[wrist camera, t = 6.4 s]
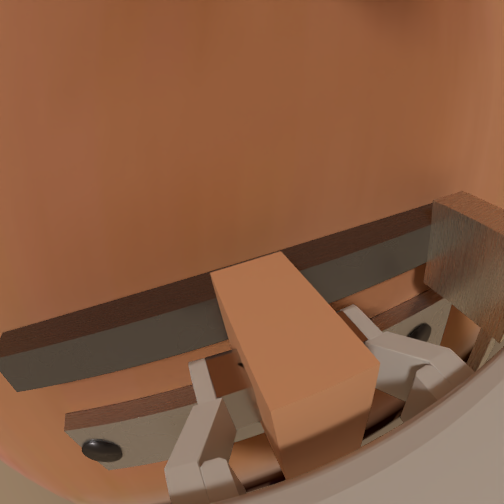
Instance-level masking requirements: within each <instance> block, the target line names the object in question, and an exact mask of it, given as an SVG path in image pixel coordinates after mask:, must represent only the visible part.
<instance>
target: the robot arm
mask: <svg viewBox="0 0 504 504" xmlns="http://www.w3.org/2000/svg"><path fill="white" fill-rule="evenodd" d="M336 313H337V314H338V315H339V316H340V317H341V318H342V320H343V321H344V322H345V323H346V324H347V325H348V326H349V328H350V329H351V330H352V331H353V332H354V333H355V334H356V335H357V337H358V338H359V339H360V340H361V341H362V342H363V343H364V345H365V346H366V347H367V348H368V349H369V350H370V351H371V353H372V354H373V355H374V356H375V357H376V358H377V359H378V361H379V362H380V368H379V373H378V378H377V382H376V387H375V388H376V389H379V390H381V391H383V392H385V393H387V394H389V395H392V396H394V397H396V398H398V399H400V400H403V401H405V402H406V403H405V406H404V408H403V411H402V414H401V417H400V418H401V420H402V421H403V422H404V423H403V424H401V425H399V426H398V427H396V428H394V429H393V430H391V431H389V432H387V433H386V434H384V435H382V436H380V437H379V438H377V439H375V440H374V441H372V442H370V443H368V444H366V445H364V446H362V447H360V448H358V449H356V450H354V451H352V452H350V453H348V454H346V455H344V456H342V457H340V458H338V459H336V460H333V461H331V462H329V463H327V464H325V465H322V466H320V467H318V468H315V469H313V470H311V471H308V472H306V473H303V474H301V475H298V476H296V477H293V478H291V479H288V480H285V481H283V482H280V483H277V484H274V485H271V486H268V487H265V488H262V489H259V490H256V491H253V492H250V493H246V491H245V488H244V487H243V485H242V484H241V482H240V481H239V479H238V478H237V476H236V475H235V473H234V471H233V470H232V468H231V467H230V465H229V464H228V463H229V459H230V455H231V452H232V448H233V444H234V440H235V436H236V433H237V430H236V429H239V428H242V427H245V426H248V425H250V424H253V423H256V422H259V421H261V420H262V417H261V414H260V410H259V407H258V405H257V403H256V401H257V400H256V396H255V393H254V389H253V386H252V383H251V381H250V379H249V377H248V374H247V372H246V370H245V368H243V365H242V362H241V358H240V356H239V353H238V351H237V349H233V350H230V351H226V352H223V353H219V354H216V355H212V356H209V357H205V358H203V359H199V360H196V361H192V362H189V370H190V375H191V379H192V383H193V387H194V391H195V395H196V399H197V403H198V405H194V406H193V407H192V409H191V412H190V414H189V416H188V418H187V420H186V423H185V425H184V427H183V429H182V431H181V434H180V436H179V438H178V440H177V442H176V445H175V447H174V449H173V451H172V453H171V456H170V458H169V460H168V462H167V464H166V467H165V469H164V471H165V476H166V481H167V486H168V491H169V496H170V500H171V504H504V347H503V348H502V349H501V350H500V351H499V352H497V353H496V354H495V355H494V356H493V357H492V358H491V359H490V360H488V361H487V362H486V363H485V364H484V365H483V366H481V367H480V368H479V369H478V370H477V371H475V372H474V371H473V370H472V369H471V368H470V367H469V366H468V365H467V364H466V363H465V362H464V361H463V360H462V359H461V358H460V357H459V356H458V355H456V354H455V353H454V352H453V351H452V350H451V349H450V348H447V347H443V346H439V345H435V344H432V343H428V342H424V341H420V340H417V339H413V338H410V337H406V336H402V335H399V334H395V333H392V332H388V331H386V332H384V333H383V332H382V331H381V330H380V329H379V328H378V327H377V326H376V325H375V324H374V323H373V322H372V321H371V320H370V319H369V318H368V317H367V316H366V315H365V314H364V313H363V312H362V311H361V310H360V309H359V308H358V307H357V306H356V305H351V306H348V307H346V308H343V309H341V310H339V311H336Z"/></svg>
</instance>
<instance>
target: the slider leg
mask: <svg viewBox="0 0 504 504" xmlns="http://www.w3.org/2000/svg"><path fill="white" fill-rule="evenodd" d="M210 275H211V279H212V283H213V286H214V290H215V294H216V297H217V301H218V304H219V308H220V311H221V315H222V318H223V322H224V325H225V329H226V332H227V336H228V339H229V342H230V346H231V349H232V350H233V349H237V351H238V353H239V356H240V358H241V362H242V365H243V368H245V370H246V372H247V374H248V377H249V379H250V381H251V383H252V386H253V389H254V393H255V396H256V400H257V401H256V403H257V405H258V407H259V410H260V414H261V417H262V420H261V421H260V423H261V425H262V427H263V430H264V432H265V434H266V436H267V439H268V441H269V443H270V445H271V448H272V450H273V452H274V454H275V456H276V459H277V461H278V463H279V465H280V467H281V469H282V472H283V474H284V476H285V478H286V480H288V479H291V478H293V477H296V476H298V475H301V474H303V473H306V472H308V471H311V470H313V469H315V468H318V467H320V466H322V465H325V464H327V463H329V462H331V461H333V460H336V459H338V458H340V457H342V456H344V455H346V454H348V453H350V452H352V451H354V450H356V449H358V448H360V446H361V443H362V439H363V436H364V432H365V428H366V425H367V421H368V417H369V413H370V409H371V405H372V400H373V396H374V392H375V387H376V382H377V378H378V373H379V368H380V362H379V361H378V359H377V358H376V357H375V356H374V355H373V354H372V353H371V351H370V350H369V349H368V348H367V347H366V346H365V345H364V343H363V342H362V341H361V340H360V339H359V338H358V337H357V335H356V334H355V333H354V332H353V331H352V330H351V329H350V328H349V326H348V325H347V324H346V323H345V322H344V321H343V320H342V318H341V317H340V316H339V315H338V314H337V313H336V312H335V311H334V309H333V308H332V307H331V306H330V305H329V304H328V303H327V302H326V301H325V299H324V298H323V297H322V296H321V295H320V294H319V293H318V292H317V290H316V289H315V288H314V287H313V286H312V285H311V284H310V283H309V282H308V280H307V279H306V278H305V277H304V276H303V275H302V274H301V273H300V272H299V271H298V269H297V268H296V267H295V266H294V265H293V264H292V263H291V262H290V261H289V260H288V258H287V257H286V256H285V255H284V254H283V253H282V252H281V251H280V252H277V253H273V254H270V255H267V256H263V257H260V258H257V259H254V260H250V261H247V262H244V263H240V264H237V265H234V266H231V267H227V268H224V269H221V270H217V271H214V272H211V273H210Z"/></svg>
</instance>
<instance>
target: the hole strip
mask: <svg viewBox="0 0 504 504" xmlns="http://www.w3.org/2000/svg"><path fill="white" fill-rule="evenodd" d="M451 305H452V304H451V303H450V302H448V301H447V300H446V299H445V298H443V297H442V296H441V295H439V294H438V293H437V292H435V291H434V290H433V289H430V290H428V291H426V292H424V293H422V294H420V295H418V296H416V297H414V298H413V299H411V300H409V301H407V302H405V303H403V304H400V305H398V306H396V307H394V308H392V309H390V310H388V311H386V312H384V313H382V314H380V315H378V316H375V317H373V318H371V319H370V320H371V321H372V322H373V323H374V324H375V325H376V326H377V327H378V328H379V329H380V330H381V331H382V332H383V333H384V332H386V331H388V332H392V333H395V334H399V335H402V336H406V337H410V338H413V339H417V340H420V341H424V342H428V343H432V344H435V345H439V346H440V343H441V339H442V336H443V333H444V330H445V326H446V323H447V319H448V316H449V312H450V309H451ZM194 405H198V403H197V399H196V395H195V391H194V387H193V385H190V386H187V387H183V388H180V389H176V390H173V391H169V392H165V393H161V394H157V395H153V396H149V397H145V398H141V399H137V400H133V401H128V402H124V403H120V404H115V405H110V406H105V407H101V408H95V409H90V410H85V411H79V412H74V413H68V414H66V415H65V426H64V431H65V432H66V433H67V434H68V435H69V436H70V437H71V438H72V439H73V440H74V441H75V442H76V443H77V444H78V445H80V446H81V447H82V452H83V454H84V455H85V456H87V457H88V458H90V459H92V460H95V461H98V462H99V463H100V464H102V465H103V466H104V467H105V468H106V469H108V470H113V469H120V468H127V467H133V466H139V465H145V464H150V463H155V462H160V461H165V460H169V458H170V456H171V453H172V451H173V449H174V447H175V445H176V442H177V440H178V438H179V436H180V434H181V431H182V429H183V427H184V425H185V423H186V420H187V418H188V416H189V414H190V412H191V409H192V407H193V406H194ZM236 430H237V433H236V436H235V440H234V442H237V441H240V440H244V439H247V438H250V437H253V436H256V435H259V434H261V433H264V430H263V427H262V425H261V423H260V421H259V422H256V423H253V424H250V425H248V426H245V427H242V428H239V429H236Z"/></svg>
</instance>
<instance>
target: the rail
mask: <svg viewBox="0 0 504 504" xmlns="http://www.w3.org/2000/svg"><path fill="white" fill-rule="evenodd" d="M280 251H281V252H282V253H283V254H284V255H285V256H286V257H287V258H288V260H289V261H290V262H291V263H292V264H293V265H294V266H295V267H296V268H297V269H298V271H299V272H300V273H301V274H302V275H303V276H304V277H305V278H306V279H307V280H308V282H309V283H310V284H311V285H312V286H313V287H314V288H315V289H316V290H317V292H318V293H319V294H320V295H321V296H322V297H323V298H324V299H325V301H326V302H327V303H328V304H329V303H332V302H334V301H337V300H339V299H342V298H344V297H347V296H349V295H352V294H354V293H357V292H359V291H362V290H364V289H366V288H369V287H371V286H374V285H376V284H378V283H381V282H383V281H385V280H388V279H390V278H392V277H395V276H397V275H399V274H401V273H404V272H406V271H408V270H410V269H413V268H415V267H417V266H419V265H422V264H424V263H426V262H427V263H426V269H425V276H424V283H425V284H426V285H428V286H429V287H430V288H431V289H433V290H434V291H435V292H437V293H438V294H439V295H441V296H442V297H443V298H445V299H446V300H447V301H448V302H450V303H451V304H452V305H453V306H455V307H456V308H457V309H458V310H460V311H461V312H462V313H463V314H465V315H466V316H467V317H468V318H470V319H471V320H472V321H473V322H475V323H476V324H477V325H478V326H479V327H481V329H480V332H479V335H478V337H477V340H476V342H475V345H474V347H473V350H472V352H471V354H470V357H469V359H468V361H467V365H468V366H469V367H470V368H471V369H472V370H473V371H474V372H475V371H477V370H478V369H479V368H480V367H481V366H483V365H484V364H485V363H486V361H487V359H488V357H489V355H490V353H491V351H492V349H493V346H494V344H495V342H496V341H497V342H499V343H501V342H502V341H503V340H504V209H502V208H500V207H498V206H495V205H493V204H491V203H489V202H487V201H485V200H482V199H480V198H478V197H475V196H473V195H471V194H469V193H466V192H464V191H461V192H458V193H454V194H451V195H448V196H445V197H441V198H438V199H435V200H433V203H431V204H428V205H425V206H422V207H419V208H415V209H412V210H409V211H406V212H403V213H399V214H396V215H393V216H390V217H387V218H383V219H380V220H377V221H374V222H371V223H367V224H364V225H361V226H358V227H354V228H351V229H348V230H345V231H342V232H338V233H335V234H332V235H329V236H325V237H322V238H319V239H316V240H312V241H309V242H306V243H303V244H299V245H296V246H293V247H290V248H286V249H283V250H280ZM280 251H276V252H273V253H277V252H280ZM273 253H270V254H273ZM270 254H267V255H270ZM267 255H263V256H267ZM263 256H260V257H263ZM260 257H257V258H260ZM257 258H254V259H257ZM254 259H250V260H254ZM250 260H247V261H250ZM247 261H244V262H247ZM244 262H240V263H244ZM240 263H237V264H240ZM237 264H234V265H237ZM234 265H230V266H227V267H231V266H234ZM227 267H224V268H227ZM224 268H221V269H224ZM221 269H217V270H221ZM217 270H214V271H217ZM214 271H211V272H214ZM211 272H207V273H204V274H201V275H197V276H194V277H191V278H187V279H184V280H181V281H177V282H174V283H171V284H167V285H164V286H161V287H157V288H154V289H151V290H147V291H144V292H141V293H137V294H134V295H131V296H127V297H124V298H120V299H117V300H114V301H110V302H107V303H104V304H100V305H97V306H93V307H90V308H87V309H83V310H80V311H76V312H73V313H70V314H66V315H63V316H59V317H56V318H52V319H49V320H46V321H42V322H39V323H35V324H32V325H28V326H25V327H22V328H18V329H15V330H11V331H8V332H4V333H2V335H1V338H0V372H1V373H2V374H3V376H4V377H5V378H6V379H7V381H8V382H9V383H10V384H11V385H12V387H13V388H14V389H15V390H16V391H17V392H20V391H26V390H31V389H37V388H42V387H47V386H52V385H57V384H62V383H67V382H72V381H76V380H81V379H85V378H90V377H94V376H98V375H102V374H107V373H111V372H115V371H119V370H123V369H127V368H131V367H135V366H138V365H142V364H146V363H150V362H153V361H157V360H161V359H164V358H168V357H171V356H175V355H178V354H182V353H185V352H188V351H192V350H195V349H198V348H202V347H205V346H208V345H211V344H215V343H218V342H221V341H224V340H227V339H228V336H227V332H226V329H225V325H224V322H223V318H222V315H221V311H220V308H219V304H218V301H217V297H216V294H215V290H214V286H213V283H212V279H211V275H210V273H211Z"/></svg>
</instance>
